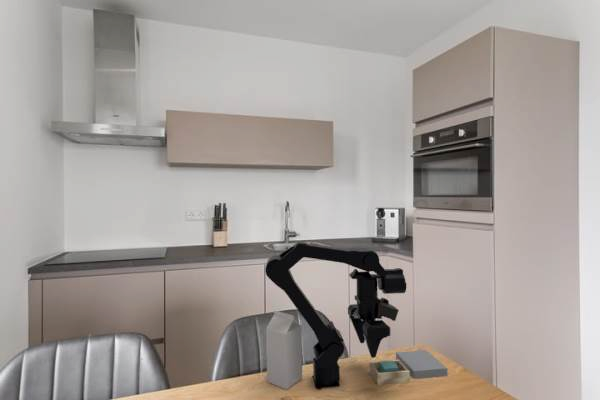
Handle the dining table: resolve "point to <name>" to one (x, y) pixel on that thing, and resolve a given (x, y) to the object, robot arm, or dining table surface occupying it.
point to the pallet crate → (389, 374)
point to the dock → (421, 364)
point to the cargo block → (387, 366)
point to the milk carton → (284, 350)
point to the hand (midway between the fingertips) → (367, 349)
